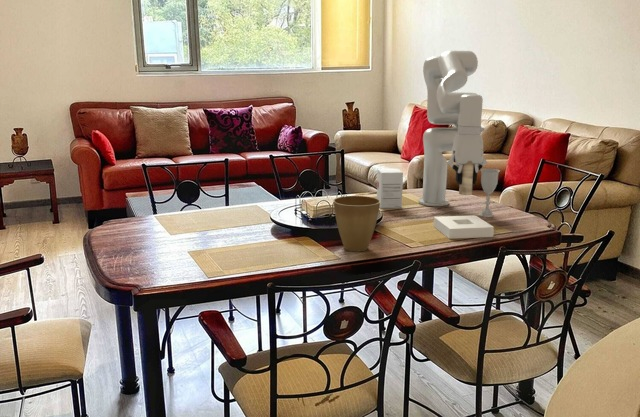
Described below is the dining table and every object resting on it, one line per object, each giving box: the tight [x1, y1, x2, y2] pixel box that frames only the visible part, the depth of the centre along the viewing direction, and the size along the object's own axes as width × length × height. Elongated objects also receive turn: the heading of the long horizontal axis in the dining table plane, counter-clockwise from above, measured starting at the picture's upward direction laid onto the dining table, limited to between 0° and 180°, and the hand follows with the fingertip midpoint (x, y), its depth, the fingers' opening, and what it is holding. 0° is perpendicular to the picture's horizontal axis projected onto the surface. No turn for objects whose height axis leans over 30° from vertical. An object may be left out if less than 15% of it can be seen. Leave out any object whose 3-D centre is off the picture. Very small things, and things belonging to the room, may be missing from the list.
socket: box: [433, 214, 495, 240], centre depth 223 cm, size 16×16×4 cm
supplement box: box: [376, 168, 404, 209], centre depth 257 cm, size 9×9×15 cm
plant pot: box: [333, 195, 380, 252], centre depth 201 cm, size 15×15×16 cm
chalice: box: [479, 167, 501, 218], centre depth 243 cm, size 7×7×18 cm
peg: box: [458, 161, 474, 196], centre depth 218 cm, size 4×4×12 cm
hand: (465, 183), depth 219 cm, fingers closed on peg, 4 cm apart
